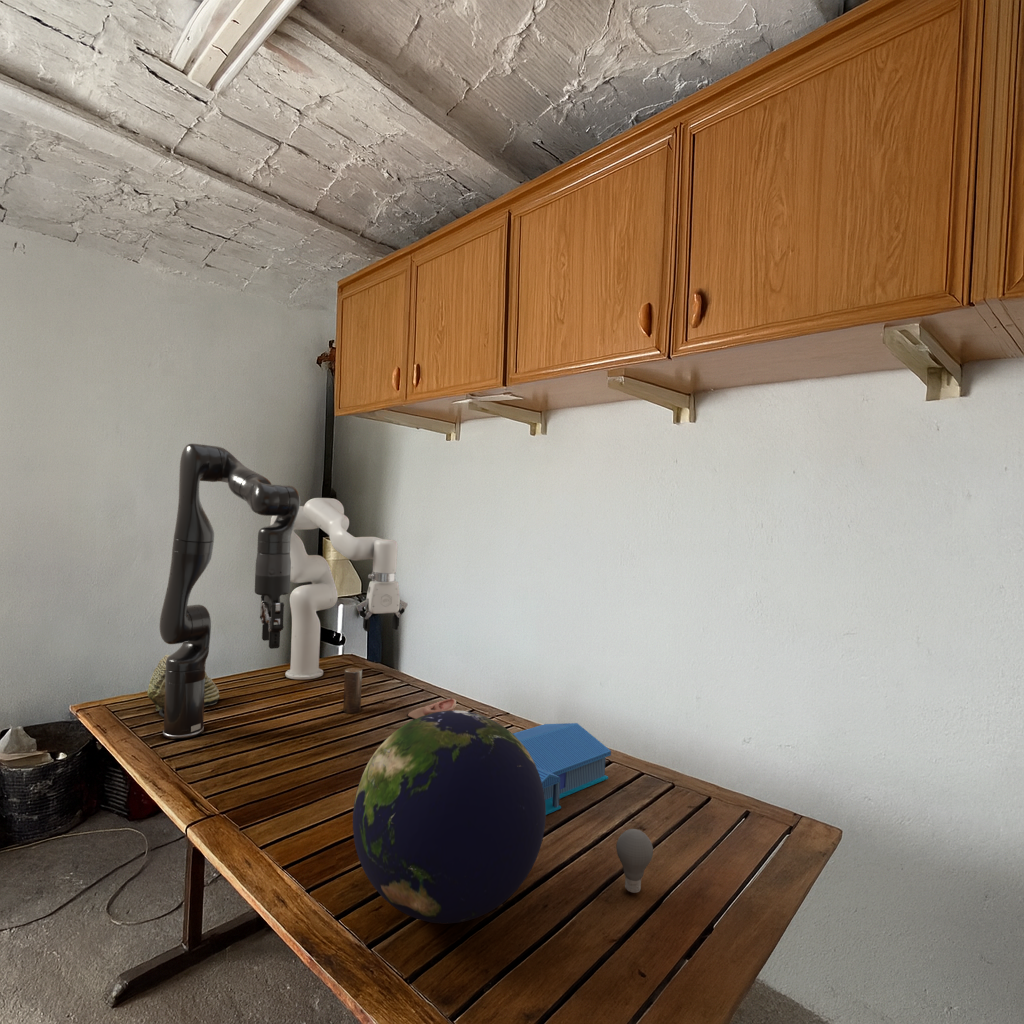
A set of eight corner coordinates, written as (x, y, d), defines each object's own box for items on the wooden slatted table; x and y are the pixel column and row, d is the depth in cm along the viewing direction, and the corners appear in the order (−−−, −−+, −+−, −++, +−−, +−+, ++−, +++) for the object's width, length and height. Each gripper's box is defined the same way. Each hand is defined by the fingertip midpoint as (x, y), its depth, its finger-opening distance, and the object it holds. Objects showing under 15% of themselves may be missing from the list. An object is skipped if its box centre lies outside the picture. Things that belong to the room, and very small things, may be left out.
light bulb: (610, 879, 108) (613, 822, 108) (644, 879, 109) (647, 822, 109) (619, 902, 102) (622, 840, 102) (655, 901, 103) (658, 840, 103)
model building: (490, 838, 120) (492, 786, 120) (417, 791, 138) (419, 745, 138) (619, 783, 146) (621, 740, 146) (544, 749, 164) (545, 711, 164)
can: (348, 714, 184) (350, 673, 184) (340, 710, 188) (341, 669, 188) (363, 711, 188) (365, 670, 188) (354, 706, 191) (356, 666, 191)
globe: (306, 934, 92) (314, 729, 91) (413, 836, 119) (420, 678, 119) (495, 1005, 80) (505, 771, 80) (565, 878, 108) (573, 704, 108)
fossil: (144, 707, 182) (145, 655, 182) (212, 696, 194) (213, 647, 194) (151, 716, 175) (153, 662, 175) (221, 703, 188) (223, 653, 188)
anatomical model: (404, 704, 182) (418, 693, 193) (403, 718, 182) (417, 706, 193) (448, 710, 180) (460, 697, 191) (448, 723, 180) (459, 711, 191)
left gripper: (297, 576, 139) (294, 649, 139) (284, 568, 151) (281, 636, 152) (260, 577, 135) (258, 652, 136) (250, 569, 148) (247, 638, 148)
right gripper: (362, 579, 197) (359, 634, 198) (413, 578, 207) (410, 630, 207) (354, 576, 203) (351, 629, 204) (403, 575, 213) (400, 625, 214)
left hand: (270, 644), depth 144 cm, fingers open, 8 cm apart
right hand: (380, 629), depth 206 cm, fingers open, 9 cm apart
